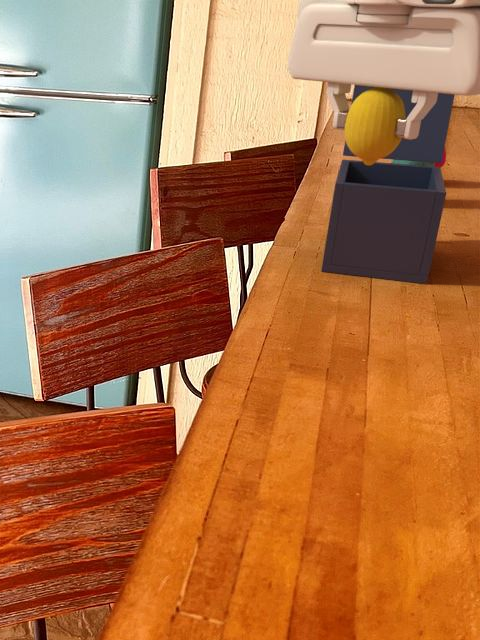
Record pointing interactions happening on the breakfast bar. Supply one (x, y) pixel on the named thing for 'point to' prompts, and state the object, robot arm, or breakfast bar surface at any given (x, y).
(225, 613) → the breakfast bar surface
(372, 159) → the lemon
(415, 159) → the chest lid
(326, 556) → the breakfast bar surface
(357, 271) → the chest
